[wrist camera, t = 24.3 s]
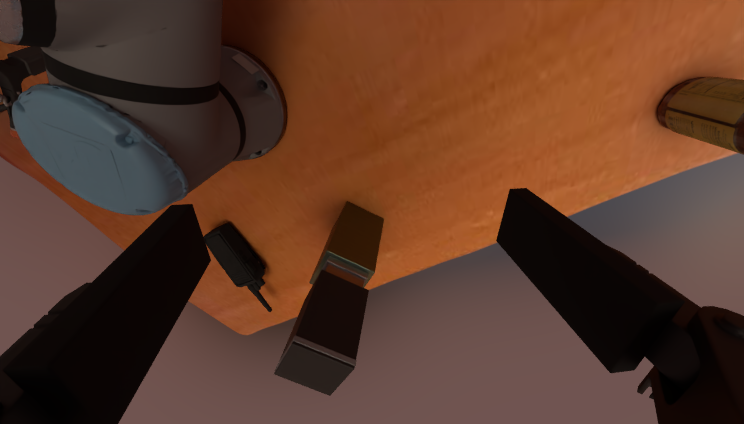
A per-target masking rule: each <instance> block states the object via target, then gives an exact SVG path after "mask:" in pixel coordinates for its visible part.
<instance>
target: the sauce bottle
mask: <svg viewBox="0 0 744 424" xmlns="http://www.w3.org/2000/svg"><path fill="white" fill-rule="evenodd" d="M658 118H659V121H660V123H661V124H662V125H663V126H664V127H666V128H669V129H671V130H672V131H674V132H676V133H679V134H682V135H686V136H689V137H692V138H695V139H698V140H701V141H704V142H707V143H710V144H713V145H716V146H719V147H723V148H726V149H729V150H732V151H735V152H738V153H741V154H744V80H739V79H728V78H719V77H707V78H706V77H700V78H696V79H692V80H689V81H686V82H684V83H681V84H680V85H678V86H676V87H674V88H673V89H672V90H671V91H670V92H669V93H668V94H667V95H666V97H665V98H664V99H663V101H662V103H661V104H660V106H659V108H658Z"/></svg>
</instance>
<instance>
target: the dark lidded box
mask: <svg viewBox="0 0 744 424" xmlns="http://www.w3.org/2000/svg"><path fill="white" fill-rule="evenodd" d="M368 292H369V290H367V289H365V288H362V287H360V286H358V285H356V284H354V283H351V282H349V281H347V280H345V279H342V278H340V277H338V276H336V275H333V274H331V273H329V272H327V271H325V270H321V272H320V273H319V275H318V277H317V279H316V281H315V282H314V284H313V286H312V288H311V290H310V291H309V293H308V295H307V297H306V299H305V301H304V303H303V306H302V308H301V310H300V313H299V315H298V318H297V320H296V322H295V325H294V327H293V330H292V332H291V335H290V337H289V340H288V342H287V344H286V347H285V349H284V351H283V354H282V356H281V359H280V361H279V363H278V365H277V367H276V369H275V373H274V374H275V375H278V376H280V377H283V378H286V379H288V380H291V381H293V382H296V383H298V384H301V385H304V386H306V387H309V388H311V389H314V390H316V391H319V392H322V393H324V394H327V395H331V394H332V393H333V392H334V391H335V390H336V388H337V387H338V386H339V385H340V384H341V383H342V382H343V381H344V380H345V379H346V377H347V376H348V375H349V374H350V373H351V372H352V371H353V370H354V367H355V366H356V356H357V351H358V345H359V340H360V334H361V329H362V324H363V319H364V313H365V308H366V302H367V297H368Z"/></svg>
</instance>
